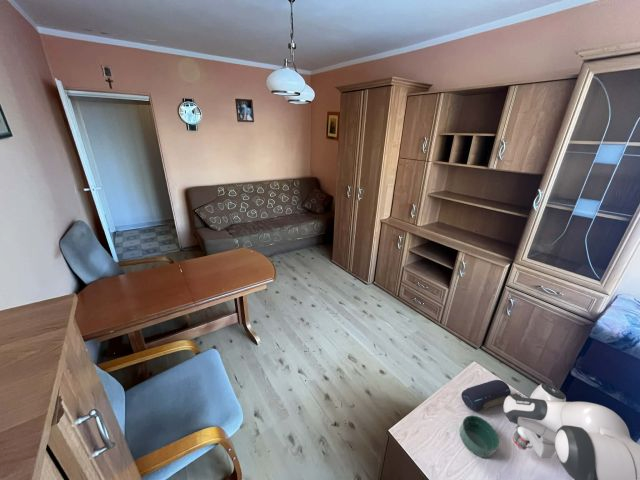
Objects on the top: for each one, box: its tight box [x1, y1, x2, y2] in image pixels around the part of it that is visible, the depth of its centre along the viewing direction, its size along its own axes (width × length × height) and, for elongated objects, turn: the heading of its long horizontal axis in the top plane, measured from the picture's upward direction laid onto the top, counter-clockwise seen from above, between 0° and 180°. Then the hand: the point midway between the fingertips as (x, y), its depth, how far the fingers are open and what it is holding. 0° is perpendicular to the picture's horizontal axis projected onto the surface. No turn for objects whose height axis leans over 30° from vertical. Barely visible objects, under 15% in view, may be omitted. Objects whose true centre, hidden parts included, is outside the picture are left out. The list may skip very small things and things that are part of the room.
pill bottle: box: [511, 426, 530, 450], centre depth 109 cm, size 5×5×10 cm
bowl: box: [458, 415, 500, 459], centre depth 117 cm, size 14×14×6 cm
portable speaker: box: [460, 379, 512, 412], centre depth 132 cm, size 25×10×10 cm, turn 107°
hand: (522, 437), depth 109 cm, fingers closed on pill bottle, 5 cm apart
